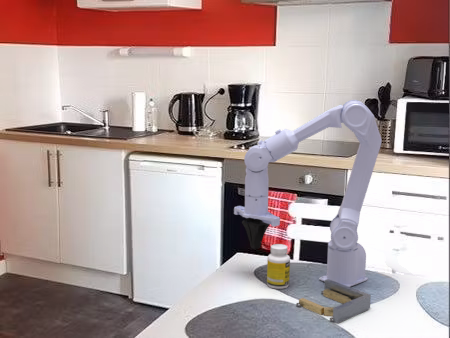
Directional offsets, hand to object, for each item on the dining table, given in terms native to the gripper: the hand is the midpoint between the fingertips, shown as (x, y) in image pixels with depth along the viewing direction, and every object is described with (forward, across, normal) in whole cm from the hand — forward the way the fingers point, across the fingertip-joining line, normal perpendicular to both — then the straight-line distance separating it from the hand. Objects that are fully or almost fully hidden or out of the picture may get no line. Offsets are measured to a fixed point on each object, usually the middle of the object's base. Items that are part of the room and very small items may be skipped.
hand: (255, 247), depth 142 cm
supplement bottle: (+8, +8, 0) cm, 11 cm away
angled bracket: (+7, +24, 0) cm, 25 cm away
